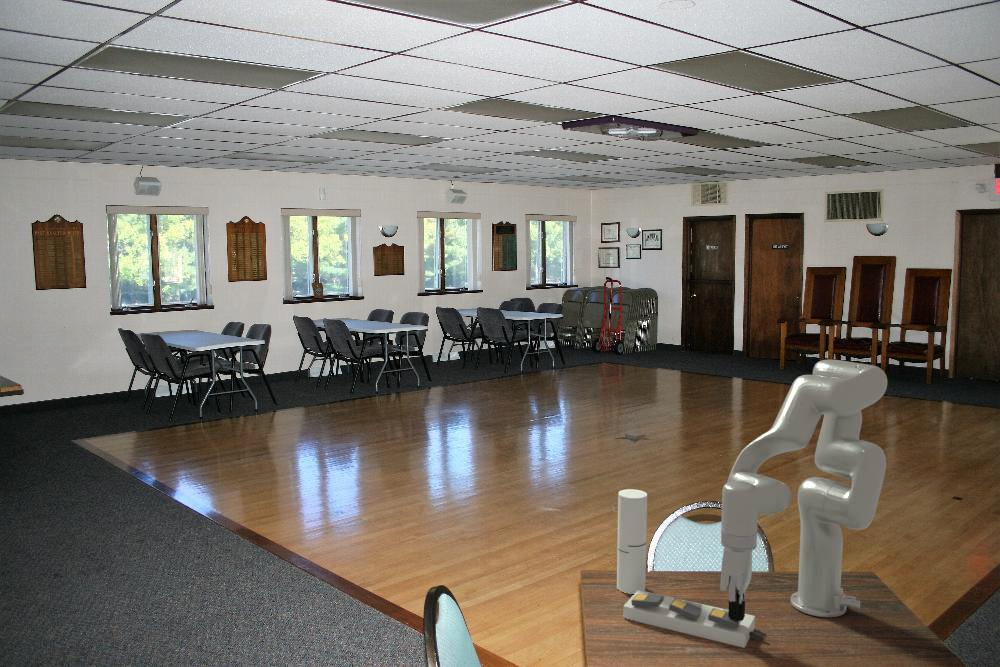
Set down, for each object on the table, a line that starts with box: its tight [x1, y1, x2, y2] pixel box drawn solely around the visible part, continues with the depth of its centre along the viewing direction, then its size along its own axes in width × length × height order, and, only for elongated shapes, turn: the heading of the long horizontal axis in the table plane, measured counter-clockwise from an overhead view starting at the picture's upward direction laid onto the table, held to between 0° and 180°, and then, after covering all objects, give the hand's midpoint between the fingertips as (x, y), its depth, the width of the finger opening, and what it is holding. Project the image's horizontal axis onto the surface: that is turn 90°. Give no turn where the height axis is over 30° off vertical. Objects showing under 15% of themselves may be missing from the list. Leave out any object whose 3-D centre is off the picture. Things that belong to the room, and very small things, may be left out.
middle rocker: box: [669, 597, 702, 620], centre depth 184 cm, size 6×4×1 cm, turn 61°
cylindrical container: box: [616, 488, 648, 595], centre depth 203 cm, size 7×7×25 cm
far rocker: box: [631, 594, 664, 607], centre depth 188 cm, size 6×4×1 cm, turn 60°
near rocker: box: [708, 608, 741, 629], centre depth 179 cm, size 6×4×1 cm, turn 61°
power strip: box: [622, 590, 765, 649], centre depth 185 cm, size 31×10×3 cm, turn 60°
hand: (736, 617), depth 178 cm, fingers closed
